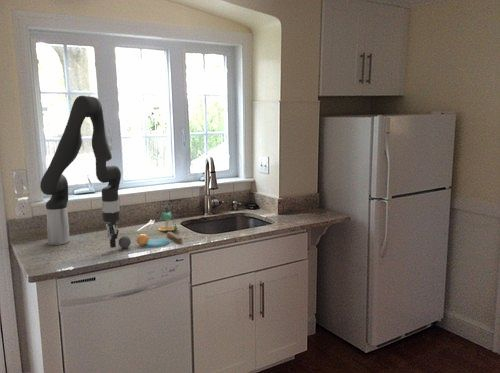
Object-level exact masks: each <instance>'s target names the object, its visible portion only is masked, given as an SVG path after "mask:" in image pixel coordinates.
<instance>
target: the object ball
mask: <svg viewBox="0 0 500 373" xmlns="http://www.w3.org/2000/svg"><path fill="white" fill-rule="evenodd" d="M148 240H149V236H148V235H147V234H145V233H141V234H139V235H138V236H137V237H136V243H137V244H138V245H139V246H141V245H146V244H147V243H148Z"/></svg>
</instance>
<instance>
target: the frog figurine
mask: <svg viewBox="0 0 500 373" xmlns="http://www.w3.org/2000/svg"><path fill="white" fill-rule="evenodd" d="M172 212H173V211H172V209H169V206H168V204H166V206H165V211H164V210H161V212H160V213H161V217H160V218H159V219H158V221H162V220H164V222H165V223H164V225H165V226H164V225H163V226H159V227H158V231H160V232H172V233H174V234H180V232H179V228H178V226H177V225H176V224H175V223H174V225H170V223H169V221H170V220H172V219H173V220H172V222H175V221H176V220H175V217H174V216H173V215H172Z"/></svg>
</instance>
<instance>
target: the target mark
mask: <svg viewBox="0 0 500 373" xmlns="http://www.w3.org/2000/svg"><path fill="white" fill-rule="evenodd" d="M148 239H149V238H148ZM170 243H171V242H170V239H165V238H150V239H149V240H148V243H147V244H146V245H140V246H142V247H144V248H150V249H151V248H152V249H153V247H156V248H162V246H163V247H166V246H168V245H170Z"/></svg>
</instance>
